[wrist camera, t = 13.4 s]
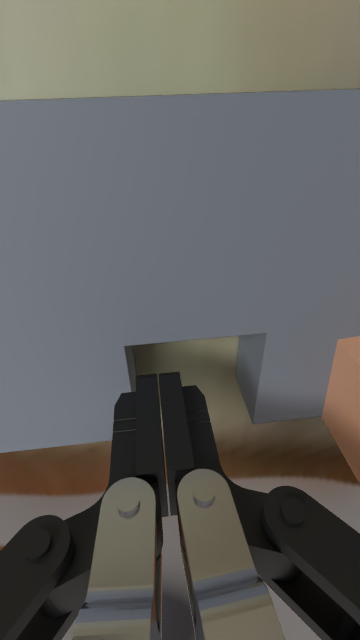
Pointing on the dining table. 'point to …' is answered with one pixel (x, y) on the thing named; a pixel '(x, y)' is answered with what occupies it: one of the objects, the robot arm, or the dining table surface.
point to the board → (173, 248)
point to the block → (345, 401)
